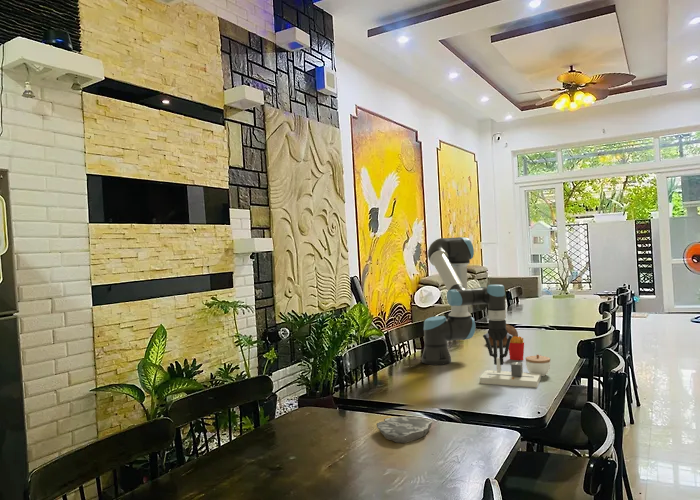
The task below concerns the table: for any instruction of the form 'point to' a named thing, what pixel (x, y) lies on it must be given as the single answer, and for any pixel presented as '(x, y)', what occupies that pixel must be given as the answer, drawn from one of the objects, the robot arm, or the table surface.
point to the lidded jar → (538, 364)
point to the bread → (510, 330)
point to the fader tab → (516, 369)
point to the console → (510, 378)
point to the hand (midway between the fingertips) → (499, 372)
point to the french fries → (516, 348)
